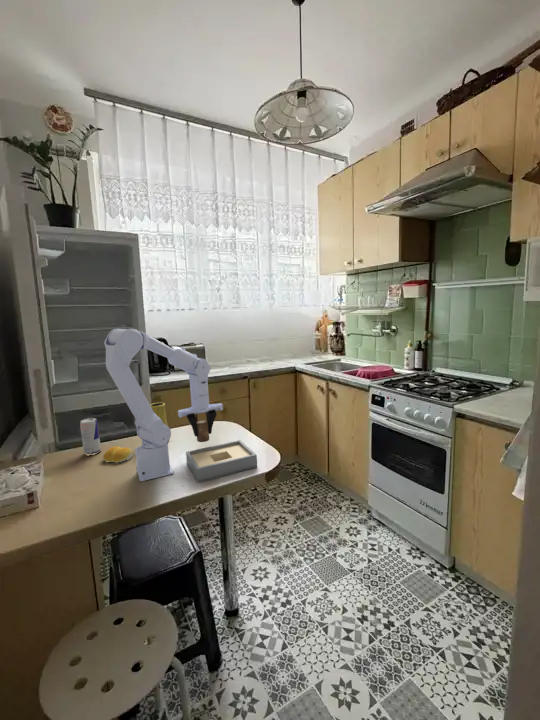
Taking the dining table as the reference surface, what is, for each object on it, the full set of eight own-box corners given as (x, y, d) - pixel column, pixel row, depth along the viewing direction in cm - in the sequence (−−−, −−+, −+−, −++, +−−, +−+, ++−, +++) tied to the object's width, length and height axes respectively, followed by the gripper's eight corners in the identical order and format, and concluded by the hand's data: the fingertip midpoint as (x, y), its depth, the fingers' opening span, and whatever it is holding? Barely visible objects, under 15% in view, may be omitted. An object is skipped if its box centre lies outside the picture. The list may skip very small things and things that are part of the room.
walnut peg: (198, 443, 116) (197, 425, 115) (195, 439, 120) (194, 422, 119) (210, 440, 118) (209, 423, 117) (207, 436, 121) (206, 419, 120)
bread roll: (122, 465, 114) (121, 453, 114) (99, 463, 117) (98, 451, 116) (138, 454, 122) (137, 443, 121) (116, 452, 124) (115, 442, 124)
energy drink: (104, 450, 127) (100, 417, 125) (95, 456, 122) (91, 422, 120) (90, 450, 128) (85, 417, 126) (80, 456, 122) (76, 422, 121)
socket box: (198, 482, 99) (197, 469, 99) (187, 463, 112) (185, 451, 111) (257, 467, 107) (256, 454, 106) (240, 451, 120) (239, 440, 119)
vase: (152, 439, 135) (148, 403, 132) (169, 437, 136) (165, 401, 134) (152, 445, 129) (148, 407, 127) (170, 442, 131) (166, 405, 128)
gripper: (179, 400, 110) (183, 442, 112) (224, 393, 116) (227, 433, 118) (175, 395, 116) (178, 435, 118) (218, 389, 122) (220, 427, 124)
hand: (202, 434), depth 118 cm, fingers closed on walnut peg, 4 cm apart
